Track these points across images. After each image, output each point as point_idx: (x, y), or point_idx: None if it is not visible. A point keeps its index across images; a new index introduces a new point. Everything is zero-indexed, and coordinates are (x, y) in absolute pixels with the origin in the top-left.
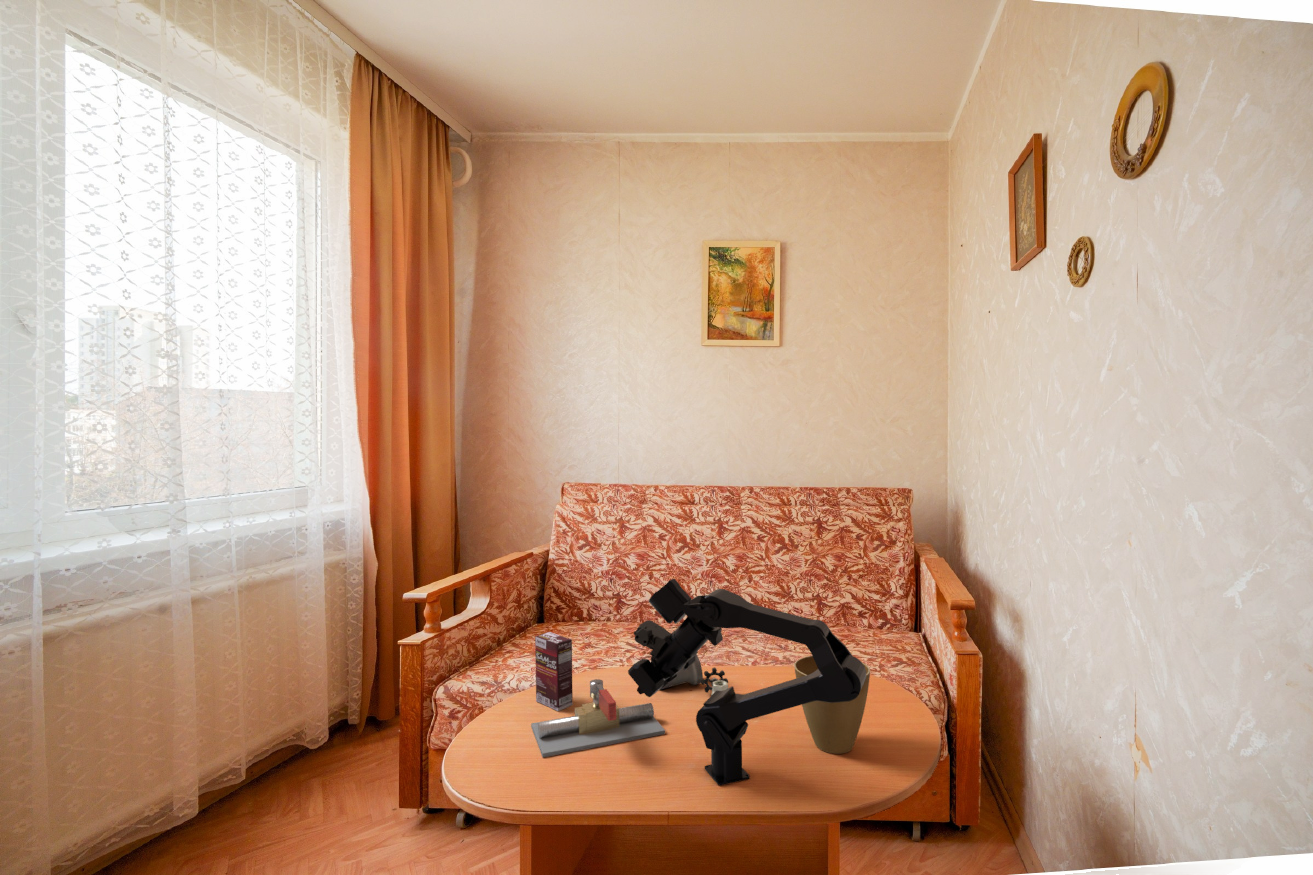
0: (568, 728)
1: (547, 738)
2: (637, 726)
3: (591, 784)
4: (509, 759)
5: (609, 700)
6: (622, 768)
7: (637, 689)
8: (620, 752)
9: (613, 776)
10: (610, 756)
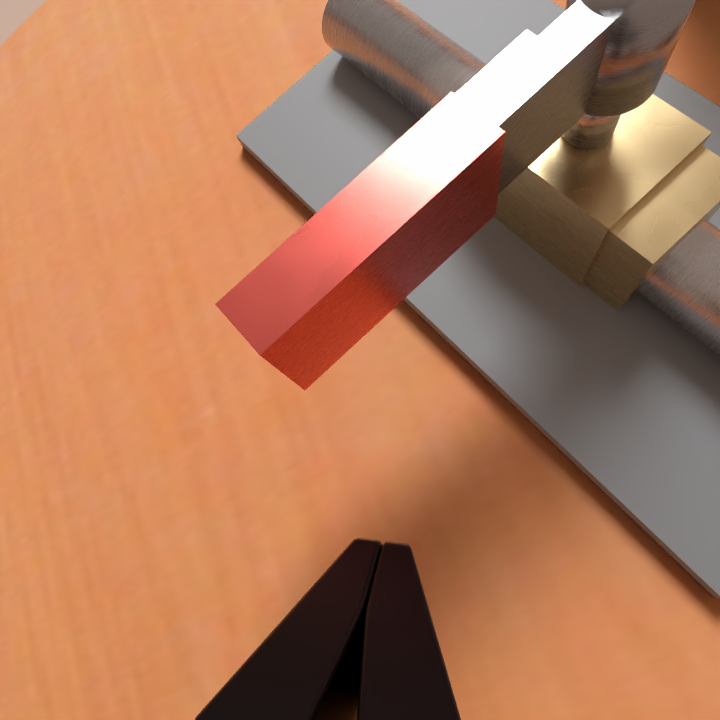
0: (416, 112)
1: (358, 77)
2: (680, 405)
3: (109, 434)
4: (197, 56)
5: (278, 283)
6: (261, 508)
7: (347, 552)
8: (397, 430)
9: (187, 498)
10: (344, 401)
